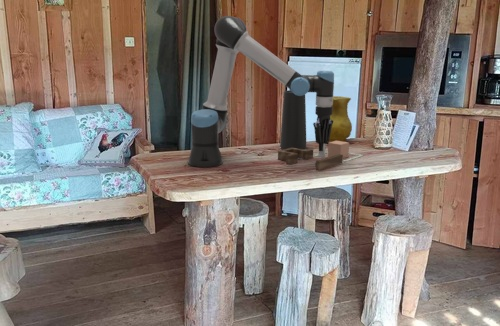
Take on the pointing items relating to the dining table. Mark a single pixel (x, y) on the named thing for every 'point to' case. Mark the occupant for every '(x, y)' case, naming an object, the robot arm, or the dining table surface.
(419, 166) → the dining table surface
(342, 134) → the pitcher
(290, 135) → the tapered dark column
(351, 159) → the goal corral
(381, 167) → the dining table surface
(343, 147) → the block
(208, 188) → the dining table surface
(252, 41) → the robot arm
